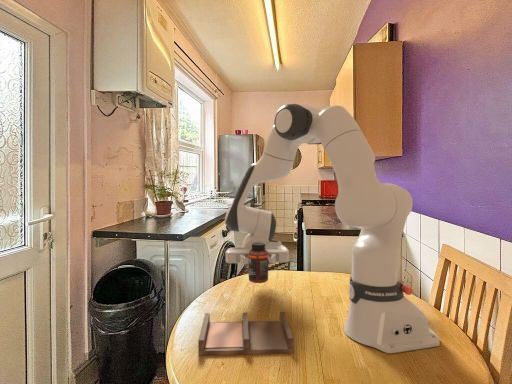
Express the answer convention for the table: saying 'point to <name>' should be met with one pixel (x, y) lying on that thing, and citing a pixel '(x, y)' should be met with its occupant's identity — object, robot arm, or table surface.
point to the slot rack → (245, 337)
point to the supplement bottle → (258, 263)
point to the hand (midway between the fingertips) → (258, 261)
